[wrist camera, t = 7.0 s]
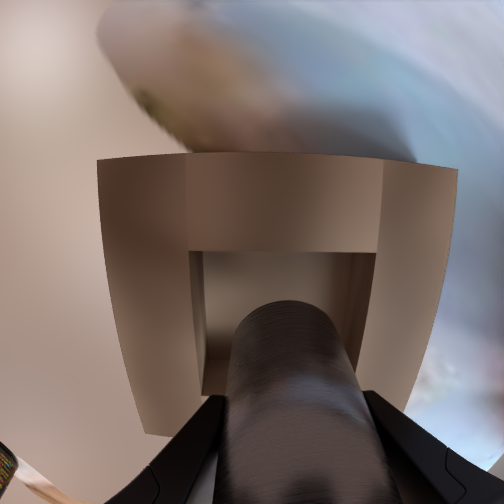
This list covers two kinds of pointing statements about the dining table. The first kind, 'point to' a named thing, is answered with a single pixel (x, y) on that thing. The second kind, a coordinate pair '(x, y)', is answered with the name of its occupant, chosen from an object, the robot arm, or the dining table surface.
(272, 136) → the dining table surface
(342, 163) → the holder block
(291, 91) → the dining table surface
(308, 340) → the battery cell
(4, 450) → the supplement container
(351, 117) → the dining table surface
